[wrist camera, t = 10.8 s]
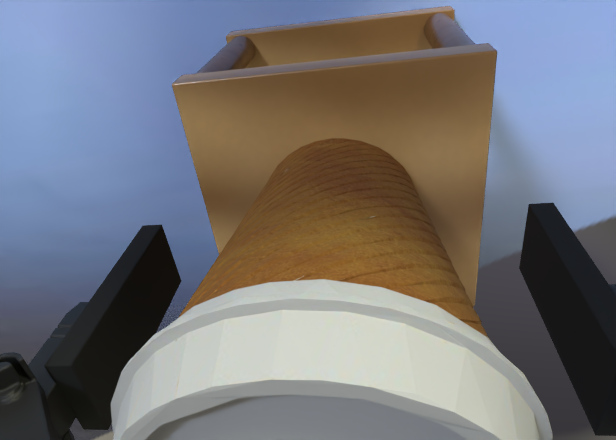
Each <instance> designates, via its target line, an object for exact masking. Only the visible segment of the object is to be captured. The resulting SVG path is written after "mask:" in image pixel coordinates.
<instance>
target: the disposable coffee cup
mask: <svg viewBox="0 0 616 440" xmlns="http://www.w3.org/2000/svg"><path fill="white" fill-rule="evenodd" d="M111 417H112V429H113V432H114V438H113V440H552V430H551V427H550V423H549V419H548V416H547V413H546V411H545V409H544V407H543V405H542V404H541V402H540V400H539V399H538V397H537V395H536V394H535V392H534V390H533V388H532V387H531V385H530V384H529V382H528V380H527V378H526V377H525V375H524V374H523V373H522V372H521V371H520V370H519V369H518V368H517V367H515V366H514V365H513V364H512V363H511V362H510V361H509V360H508V359H507V358H505V357H504V356H503V355H502V354H501V353H500V352H499V351H498V349H497V348H496V347H495V346H494V345H493V343H492V342H491V341H490V339H489V338H488V335H487V334H486V332H485V330H484V328H483V327H482V325H481V320H480V318H479V316H478V315H477V313H476V311H475V310H474V309H473V304H472V302H471V300H470V298H469V297H468V295H467V294H466V291H465V288H464V286H463V284H462V283H461V281H460V279H459V276H458V274H457V272H456V271H455V269H454V267H453V265H452V261H451V259H450V258H449V256H448V254H447V251H446V249H445V248H444V246H443V244H442V243H441V239H440V237H439V236H438V234H437V232H436V230H435V227H434V225H433V224H432V222H431V219H430V217H429V216H428V214H427V211H426V209H425V207H424V206H423V204H422V201H421V199H420V197H419V195H418V193H417V191H416V189H415V187H414V185H413V182H412V180H411V178H410V176H409V175H408V173H407V172H406V170H405V169H404V167H403V166H402V165H401V164H400V163H399V162H398V161H397V160H396V159H394V158H393V157H392V156H391V155H390V154H389V153H387V152H385V151H384V150H382V149H381V148H379V147H376V146H374V145H371V144H368V143H365V142H363V141H358V140H352V139H345V138H331V139H326V140H320V141H315V142H313V143H310V144H307V145H305V146H302V147H300V148H299V149H297V150H295V151H294V152H292V153H291V154H289V155H288V156H287V157H286V158H285V159H284V160H283V161H282V162H281V163H280V164H279V165H278V166H277V167H276V169H275V170H274V172H273V173H272V175H271V176H270V178H269V180H268V182H267V183H266V185H265V186H264V188H263V189H262V191H261V192H260V194H259V195H258V197H257V199H256V200H255V202H254V203H253V205H252V206H251V208H250V209H249V210H248V212H247V213H246V215H245V216H244V218H243V220H242V221H241V223H240V224H239V226H238V227H237V229H236V231H235V232H234V234H233V235H232V237H231V238H230V240H229V241H228V242H227V244H226V246H225V247H224V249H223V250H222V252H221V253H220V255H219V256H218V258H217V259H216V261H215V263H214V264H213V265H212V267H211V268H210V270H209V272H208V273H207V275H206V276H205V278H204V279H203V281H202V282H201V284H200V285H199V287H198V289H197V290H196V292H195V293H194V294H193V296H192V298H191V299H190V301H189V302H188V304H187V306H186V307H185V309H184V310H183V311H182V313H181V314H180V316H179V318H178V319H176V320H175V321H174V322H172V323H171V324H170V325H168V326H167V327H166V328H164V329H163V330H161V331H159V332H158V333H156V334H155V335H153V336H152V337H151V338H150V339H149V340H148V342H147V343H146V344H145V345H144V346H143V347H142V348H141V349H140V350H139V351H138V352H137V353H136V354H135V355H134V356H133V357H132V358H131V359H130V360H129V362H128V363H127V364H126V366H125V368H124V369H123V371H122V372H121V375H120V377H119V380H118V383H117V386H116V389H115V392H114V395H113V398H112V401H111Z"/></svg>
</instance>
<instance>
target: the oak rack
mask: <svg viewBox="0 0 616 440" xmlns="http://www.w3.org/2000/svg"><path fill="white" fill-rule="evenodd" d="M226 40H227V45H226V46H225V47H223V48H222V49H221V50H220V51H219V52H218V53H217V54H216V55H215V56H214V57H213V58H212V59H211V60H210V61H209V62H208V63H207V64H205V65H204V66H203V67H202V68H201V69H200V70H199V71H198V72H197V73H196V74H188V75H182V76H180V77H179V78H178V79H177V80H176V81H175V82H174V83H172V87H173V91H174V94H175V98H176V102H177V105H178V109H179V112H180V116H181V119H182V123H183V127H184V130H185V134H186V137H187V141H188V145H189V148H190V152H191V155H192V159H193V162H194V166H195V170H196V173H197V177H198V180H199V184H200V188H201V191H202V195H203V198H204V202H205V205H206V209H207V213H208V216H209V220H210V223H211V227H212V231H213V234H214V238H215V241H216V245H217V248H218V252H219V255H220V253H221V252H222V250H223V249H224V247H225V246H226V244H227V242H228V241H229V240H230V238H231V237H232V235H233V234H234V232H235V231H236V229H237V227H238V226H239V224H240V223H241V221H242V220H243V218H244V216H245V215H246V213H247V212H248V210H249V209H250V208H251V206H252V205H253V203H254V202H255V200H256V199H257V197H258V195H259V194H260V192H261V191H262V189H263V188H264V186H265V185H266V183H267V182H268V180H269V178H270V176H271V175H272V173H273V172H274V170H275V169H276V167H277V166H278V165H279V164H280V163H281V162H282V161H283V160H284V159H285V158H286V157H287V156H288V155H289V154H291V153H292V152H294V151H295V150H297V149H299V148H300V147H302V146H305V145H307V144H310V143H313V142H315V141H320V140H326V139H331V138H345V139H352V140H358V141H363V142H365V143H368V144H371V145H374V146H376V147H379V148H381V149H382V150H384V151H385V152H387V153H389V154H390V155H391V156H392V157H393V158H394V159H396V160H397V161H398V162H399V163H400V164H401V165H402V166H403V167H404V169H405V170H406V172H407V173H408V175H409V176H410V178H411V180H412V182H413V185H414V187H415V189H416V191H417V193H418V195H419V197H420V199H421V201H422V204H423V206H424V207H425V209H426V211H427V214H428V216H429V217H430V219H431V222H432V224H433V225H434V227H435V230H436V232H437V234H438V236H439V237H440V239H441V243H442V244H443V246H444V248H445V249H446V251H447V254H448V256H449V258H450V259H451V261H452V265H453V267H454V269H455V271H456V272H457V274H458V276H459V279H460V281H461V283H462V284H463V286H464V288H465V291H466V294H467V295H468V297H469V298H470V300H471V302H472V304H473V306H475V298H476V287H477V275H478V264H479V253H480V241H481V230H482V219H483V207H484V196H485V184H486V173H487V162H488V150H489V139H490V128H491V116H492V105H493V94H494V82H495V71H496V60H497V51H496V50H495V49H494V48H493V47H492V46H491V45H490V44H489V43H485V44H475V43H474V42H473V41H472V40H471V39H470V38H469V37H468V36H467V35H466V33H465V32H464V31H463V30H462V29H461V28H460V27H459V26H458V25H457V24H456V23H455V22H454V9H453V8H452V7H451V6H445V7H437V8H428V9H419V10H411V11H402V12H394V13H385V14H377V15H368V16H360V17H351V18H342V19H334V20H325V21H317V22H308V23H300V24H291V25H283V26H274V27H265V28H257V29H248V30H240V31H231V32H230V33H229V34H228V35H227V36H226Z"/></svg>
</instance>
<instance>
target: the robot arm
mask: <svg viewBox="0 0 616 440" xmlns="http://www.w3.org/2000/svg"><path fill="white" fill-rule="evenodd" d="M520 271H521V273H522V275H523V277H524V280H525V282H526V284H527V286H528V288H529V290H530V293H531V295H532V297H533V299H534V301H535V304H536V306H537V308H538V310H539V312H540V314H541V317H542V319H543V321H544V323H545V325H546V328H547V330H548V332H549V334H550V337H551V339H552V341H553V343H554V345H555V347H556V349H557V352H558V354H559V356H560V358H561V361H562V363H563V365H564V367H565V369H566V372H567V374H568V376H569V378H570V380H571V382H572V385H573V387H574V389H575V391H576V394H577V396H578V398H579V400H580V402H581V404H582V407H583V409H584V411H585V413H586V415H587V417H588V420H589V422H590V424H591V426H592V428H593V431H594V433H595V435H609V436H611V435H613V436H616V285H609V284H608V283H607V281H606V280H605V278H604V277H603V276H602V274H601V273H600V271H599V270H598V268H597V267H596V265H595V264H594V262H593V261H592V259H591V258H590V256H589V255H588V253H587V252H586V251H585V249H584V248H583V246H582V245H581V243H580V242H579V241H578V239H577V237H576V236H575V234H574V233H573V231H572V230H571V228H570V227H569V225H568V224H567V223H566V221H565V220H564V218H563V217H562V215H561V214H560V212H559V211H558V209H557V208H556V206H555V205H554V203H541V204H529V207H528V214H527V221H526V227H525V234H524V241H523V247H522V254H521V261H520ZM180 282H181V279H180V276H179V273H178V270H177V267H176V264H175V261H174V259H173V256H172V253H171V250H170V247H169V244H168V241H167V238H166V235H165V233H164V230H163V227H162V225H147V226H142V228H141V229H140V230H139V232H138V233H137V235H136V236H135V237H134V239H133V240H132V242H131V243H130V245H129V246H128V247H127V249H126V250H125V252H124V253H123V254H122V256H121V257H120V259H119V260H118V262H117V263H116V264H115V266H114V267H113V269H112V270H111V271H110V273H109V274H108V276H107V277H106V279H105V280H104V281H103V283H102V284H101V286H100V287H99V288H98V290H97V291H96V293H95V294H94V296H93V297H92V298H91V300H90V301H89V302H80V303H79V304H78V305H77V306H75V307H74V308H73V309H72V310H71V311H69V312H68V313H67V314H66V315H65V317H64V318H63V319H62V321H61V322H60V323H59V325H58V328H56V329H55V330H54V332H53V333H52V334H51V337H50V338H48V340H47V341H46V342H45V344H44V345H43V346H42V348H41V349H40V350H39V352H38V353H37V354H36V356H35V357H34V359H33V360H32V361H31V363H30V364H29V365H27V364H26V362H25V361H24V359H23V358H22V356H21V355H20V354H18V353H14V352H12V353H4V354H1V355H0V440H75V439H74V436H73V434H72V432H71V431H70V429H69V428H70V427H71V425H72V423H73V421H74V420H75V418H77V419H78V421H79V422H80V424H81V426H82V427H83V429H94V430H108V429H109V427H110V425H111V423H112V417H111V401H112V398H113V395H114V392H115V389H116V386H117V383H118V380H119V377H120V375H121V372H122V371H123V369H124V368H125V366H126V364H127V363H128V362H129V360H130V359H131V358H132V357H133V356H134V355H135V354H136V353H137V352H138V351H139V350H140V349H141V348H142V347H143V346H144V345H145V344H146V343H147V342H148V340H149V339H150V338H151V337H152V336H153V335H155V333H156V331H157V329H158V327H159V325H160V323H161V321H162V319H163V317H164V315H165V313H166V311H167V309H168V307H169V305H170V303H171V301H172V299H173V297H174V295H175V293H176V291H177V289H178V287H179V285H180Z"/></svg>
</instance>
